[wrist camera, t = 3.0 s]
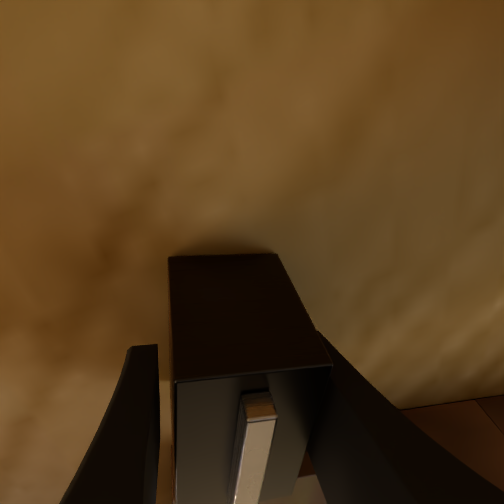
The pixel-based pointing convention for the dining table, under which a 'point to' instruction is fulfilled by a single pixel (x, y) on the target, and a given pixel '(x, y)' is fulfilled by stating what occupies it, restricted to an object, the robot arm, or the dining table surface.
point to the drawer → (240, 378)
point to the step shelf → (444, 433)
